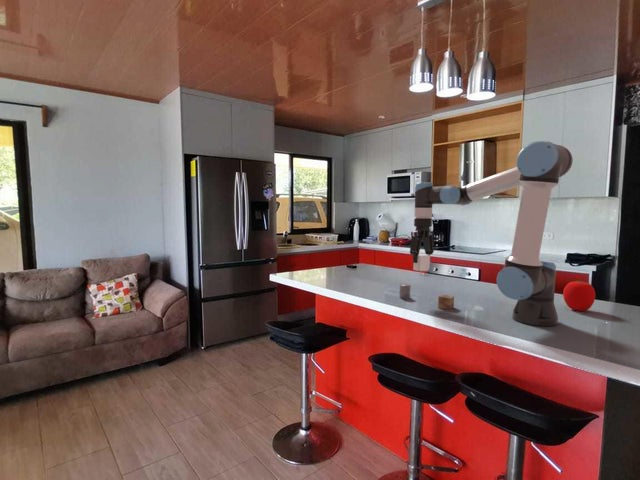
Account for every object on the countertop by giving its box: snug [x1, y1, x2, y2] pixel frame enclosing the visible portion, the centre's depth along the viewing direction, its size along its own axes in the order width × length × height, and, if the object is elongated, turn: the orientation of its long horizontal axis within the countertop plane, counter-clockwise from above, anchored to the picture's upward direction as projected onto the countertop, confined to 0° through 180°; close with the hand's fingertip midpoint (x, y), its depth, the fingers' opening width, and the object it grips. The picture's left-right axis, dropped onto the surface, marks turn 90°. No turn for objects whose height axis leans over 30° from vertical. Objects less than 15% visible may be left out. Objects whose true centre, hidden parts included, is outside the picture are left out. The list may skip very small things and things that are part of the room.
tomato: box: [562, 280, 596, 312], centre depth 157 cm, size 11×11×13 cm
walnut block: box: [437, 294, 455, 311], centre depth 159 cm, size 5×5×5 cm
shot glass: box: [418, 253, 431, 272], centre depth 166 cm, size 7×7×7 cm
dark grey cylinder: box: [398, 283, 411, 300], centre depth 176 cm, size 5×5×6 cm
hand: (421, 269), depth 166 cm, fingers closed on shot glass, 7 cm apart
